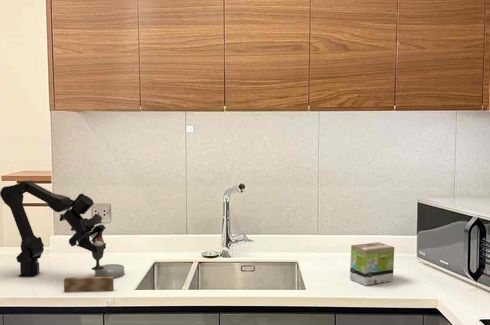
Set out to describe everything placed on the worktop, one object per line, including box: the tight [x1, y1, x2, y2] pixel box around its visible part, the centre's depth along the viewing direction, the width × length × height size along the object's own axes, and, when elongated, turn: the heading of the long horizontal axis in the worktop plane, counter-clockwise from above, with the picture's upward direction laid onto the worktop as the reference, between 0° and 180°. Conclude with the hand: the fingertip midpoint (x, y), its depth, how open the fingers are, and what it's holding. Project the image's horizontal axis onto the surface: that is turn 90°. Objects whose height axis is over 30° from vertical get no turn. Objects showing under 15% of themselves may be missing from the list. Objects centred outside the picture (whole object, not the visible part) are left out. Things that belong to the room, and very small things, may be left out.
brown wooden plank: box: [63, 276, 115, 293], centre depth 182 cm, size 18×2×5 cm, turn 95°
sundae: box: [91, 233, 107, 271], centre depth 193 cm, size 7×7×15 cm
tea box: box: [349, 241, 395, 286], centre depth 196 cm, size 15×10×15 cm, turn 117°
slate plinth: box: [94, 263, 125, 280], centre depth 202 cm, size 12×12×3 cm
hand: (100, 250), depth 193 cm, fingers closed on sundae, 6 cm apart
